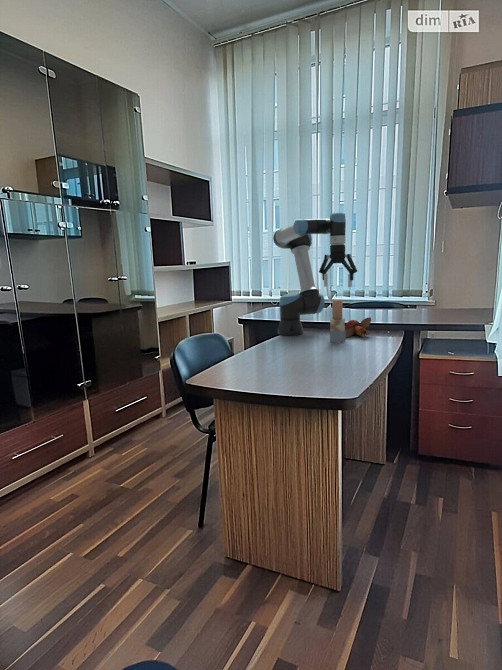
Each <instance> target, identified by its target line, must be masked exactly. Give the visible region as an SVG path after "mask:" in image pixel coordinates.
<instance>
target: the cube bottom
mask: <svg viewBox="0 0 502 670" xmlns="http://www.w3.org/2000/svg"><path fill="white" fill-rule="evenodd" d="M346 338H347V337H346V329H345V330H344V331H342V332H338V331H330V330H329V342H330V343H334V344H335V343H336V344H342V343H343V342H346V340H347V339H346Z"/></svg>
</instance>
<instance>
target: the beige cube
mask: <svg viewBox="0 0 502 670" xmlns="http://www.w3.org/2000/svg"><path fill="white" fill-rule="evenodd" d="M329 323H330V324H329V325H330V326H329V327H330V330H329V332H330V331H338V332H342V331H344V330H346V318H343V317H342V320H333V319H332V318H331V319H330V322H329Z"/></svg>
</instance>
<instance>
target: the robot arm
mask: <svg viewBox="0 0 502 670" xmlns="http://www.w3.org/2000/svg"><path fill="white" fill-rule="evenodd" d="M346 221H347V219H346V213H345V212H333V213H330V216H329V218H305V219H304V218H300V219H295V221H294V223H293V224H291V226H288V227H286V228H280V229H278V230H276V231H275V232H274V234H273V237H272V239H273V243H274V245H276V246H277V247H278V248H280V249H287V250H289V249H290V252H291V254H292V255H294V261H295V266H296V272H297V276H298V281H299V286H300V292H299V293H298V292H293V293H292V292H291V293H287V294H283V295H281V296H280V297H279V314H280V315H279V316H280V317H279V319H280V320H279V324H278V327H277V335H279V336H288V337H290V336H294V337H295V336H301V335H303V334H304V327H303V325H302V322H301V316H302V315H303V316H304V315H305V316H306V315H315V314H320V313H322V312H323V310H324V307H325V296H324V294H322V293H320V291H319V289H318V288H316V284H315V280H314V276H313V269H312V265H311V260H310V255H309V251H310V249H311V246H312V244H313V242H312V240H313V237H312V235H329V234H330V235H329V238H330V239H329V243H330V246H329V253H330V254H324V257H323V261H322V263H321V265H320V268H319V270H318V272H319V274H321V275H322V277H321V278H322V281H323V288H326V287H329V284H328V283H329V282H328V280H329V279H328V278H329V276H328V273H327V272H329V270H330V269H331V267H332V266H333V265H334V264H342V266H343V267H344V268H345V269H346V270H347V272H348V275H347V287H348V288H352V287H353V281H354V274H356V273H358V269H357V268H356V267H357V266H356V265H355V262H354V260H353V258H352V253H347V254H346V245H345V244H346V225H347V223H346ZM329 259H330V260H329ZM346 259H347V261H348V262H347V261H346ZM328 261H329V262H328ZM327 263H328V264H327ZM348 263H349V264H348Z"/></svg>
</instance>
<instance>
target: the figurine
mask: <svg viewBox="0 0 502 670" xmlns="http://www.w3.org/2000/svg"><path fill="white" fill-rule="evenodd" d="M371 324H372V317H369V316H368V317H365V318H364V319H363V320H361V321H360V322H359V321H358V320H356V319H351V320H348V321H347V322H346V323H345V330H346V338H348V337H351V336H355V335H356V336H359V337H361V338H362V339H363V338H364V337H366V336H368V335H370V334H371V333H370V329H369V330H367V327H369V326H370V325H371Z"/></svg>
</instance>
